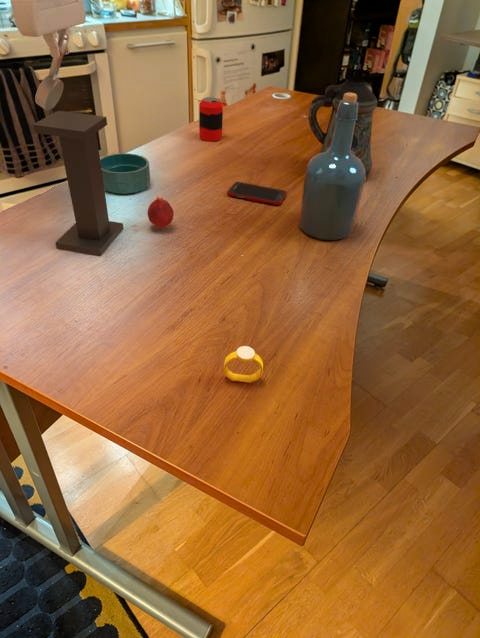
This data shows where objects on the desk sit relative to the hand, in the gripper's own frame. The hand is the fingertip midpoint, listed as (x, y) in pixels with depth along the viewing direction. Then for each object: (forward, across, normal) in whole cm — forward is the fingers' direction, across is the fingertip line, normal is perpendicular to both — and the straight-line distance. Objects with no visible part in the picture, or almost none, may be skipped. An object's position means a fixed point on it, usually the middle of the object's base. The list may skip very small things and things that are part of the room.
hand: (60, 55), depth 94 cm
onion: (+32, +8, +22) cm, 40 cm away
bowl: (+32, -12, +5) cm, 34 cm away
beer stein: (+33, -40, +60) cm, 79 cm away
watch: (+33, +48, +50) cm, 77 cm away
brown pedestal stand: (+32, +16, +9) cm, 37 cm away
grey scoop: (+3, 0, -3) cm, 4 cm away
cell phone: (+32, -17, +40) cm, 54 cm away
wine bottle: (+33, -5, +59) cm, 68 cm away
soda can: (+32, -54, +17) cm, 66 cm away
